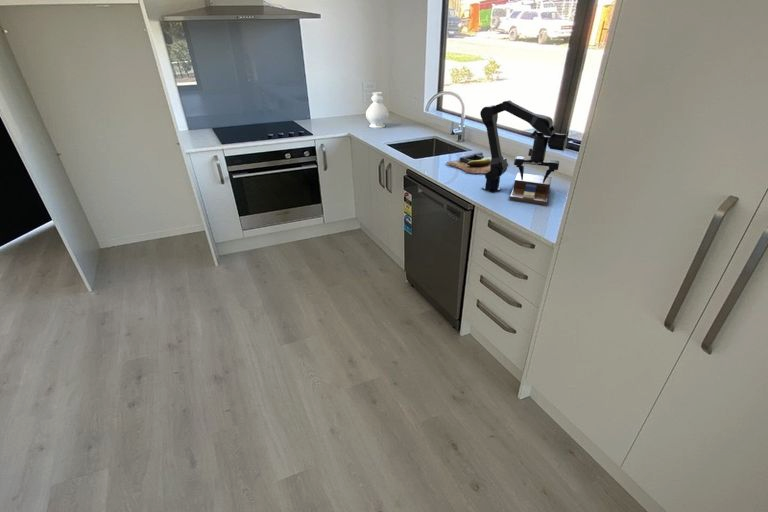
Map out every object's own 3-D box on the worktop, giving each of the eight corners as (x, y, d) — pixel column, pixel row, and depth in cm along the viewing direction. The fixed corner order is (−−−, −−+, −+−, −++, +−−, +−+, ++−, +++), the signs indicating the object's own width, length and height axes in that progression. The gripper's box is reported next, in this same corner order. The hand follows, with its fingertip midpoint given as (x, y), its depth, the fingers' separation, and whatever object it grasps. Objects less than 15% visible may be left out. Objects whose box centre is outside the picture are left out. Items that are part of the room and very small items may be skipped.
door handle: (500, 157, 233) (478, 150, 243) (479, 164, 222) (457, 156, 232) (498, 163, 235) (477, 155, 245) (478, 169, 224) (456, 161, 233)
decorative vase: (377, 129, 304) (377, 95, 292) (361, 126, 314) (360, 92, 302) (392, 126, 316) (393, 92, 303) (376, 123, 326) (376, 90, 313)
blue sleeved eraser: (533, 198, 179) (535, 190, 177) (523, 196, 180) (524, 188, 178) (535, 192, 186) (537, 183, 184) (525, 190, 188) (526, 182, 186)
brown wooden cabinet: (545, 205, 177) (548, 193, 174) (509, 200, 182) (511, 187, 179) (548, 188, 196) (551, 177, 193) (515, 184, 201) (517, 172, 198)
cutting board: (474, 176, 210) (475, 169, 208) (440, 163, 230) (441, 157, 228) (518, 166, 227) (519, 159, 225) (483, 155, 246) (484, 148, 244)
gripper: (562, 145, 177) (555, 178, 184) (519, 140, 183) (513, 173, 191) (562, 151, 168) (553, 186, 175) (516, 146, 174) (510, 180, 182)
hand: (532, 181), depth 181 cm, fingers open, 9 cm apart
